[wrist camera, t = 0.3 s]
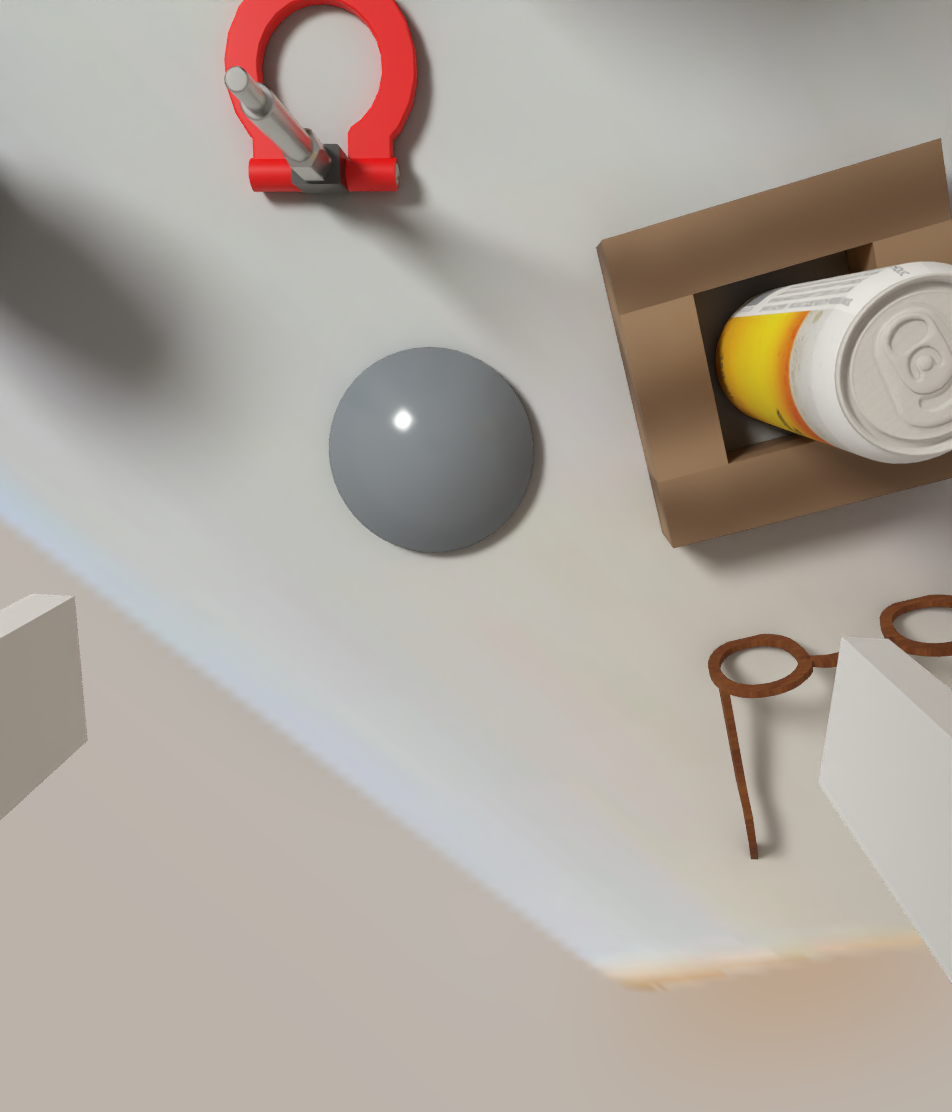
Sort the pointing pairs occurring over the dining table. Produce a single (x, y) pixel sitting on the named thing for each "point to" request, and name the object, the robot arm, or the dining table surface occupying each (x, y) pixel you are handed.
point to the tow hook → (296, 152)
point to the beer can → (849, 361)
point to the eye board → (679, 357)
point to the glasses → (803, 678)
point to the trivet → (431, 449)
